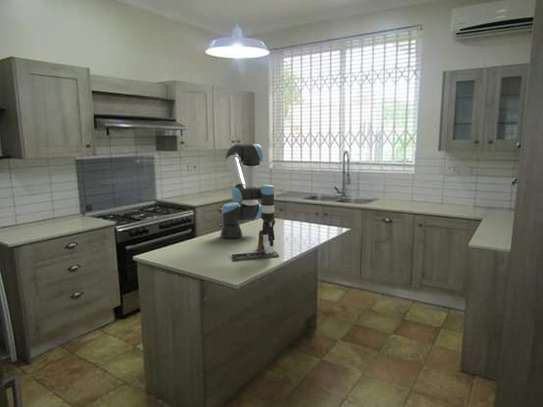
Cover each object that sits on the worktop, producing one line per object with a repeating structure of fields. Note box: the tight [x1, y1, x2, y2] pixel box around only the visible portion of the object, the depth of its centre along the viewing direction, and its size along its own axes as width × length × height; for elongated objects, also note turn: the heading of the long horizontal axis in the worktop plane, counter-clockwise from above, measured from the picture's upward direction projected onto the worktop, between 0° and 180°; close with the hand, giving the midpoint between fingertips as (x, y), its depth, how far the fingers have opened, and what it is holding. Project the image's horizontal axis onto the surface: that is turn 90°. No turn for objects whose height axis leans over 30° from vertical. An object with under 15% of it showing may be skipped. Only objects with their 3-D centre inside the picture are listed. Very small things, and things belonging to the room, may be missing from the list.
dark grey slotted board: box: [231, 250, 280, 262], centre depth 224 cm, size 9×26×1 cm, turn 104°
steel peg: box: [263, 240, 273, 255], centre depth 226 cm, size 4×4×9 cm
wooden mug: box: [256, 218, 276, 251], centre depth 241 cm, size 9×14×18 cm, turn 139°
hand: (268, 248), depth 226 cm, fingers open, 12 cm apart
